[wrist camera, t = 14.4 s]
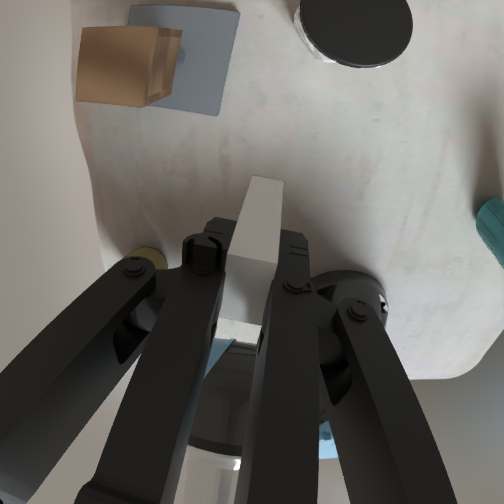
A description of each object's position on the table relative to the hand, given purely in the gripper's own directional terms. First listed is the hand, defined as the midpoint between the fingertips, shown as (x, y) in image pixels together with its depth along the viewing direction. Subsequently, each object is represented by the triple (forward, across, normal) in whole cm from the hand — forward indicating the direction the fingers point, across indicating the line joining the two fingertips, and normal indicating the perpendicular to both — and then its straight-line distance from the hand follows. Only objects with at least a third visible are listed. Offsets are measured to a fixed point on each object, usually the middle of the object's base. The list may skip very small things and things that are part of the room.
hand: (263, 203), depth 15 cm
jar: (+21, -4, -12) cm, 25 cm away
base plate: (+21, +12, -6) cm, 25 cm away
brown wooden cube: (+13, +12, -6) cm, 19 cm away
